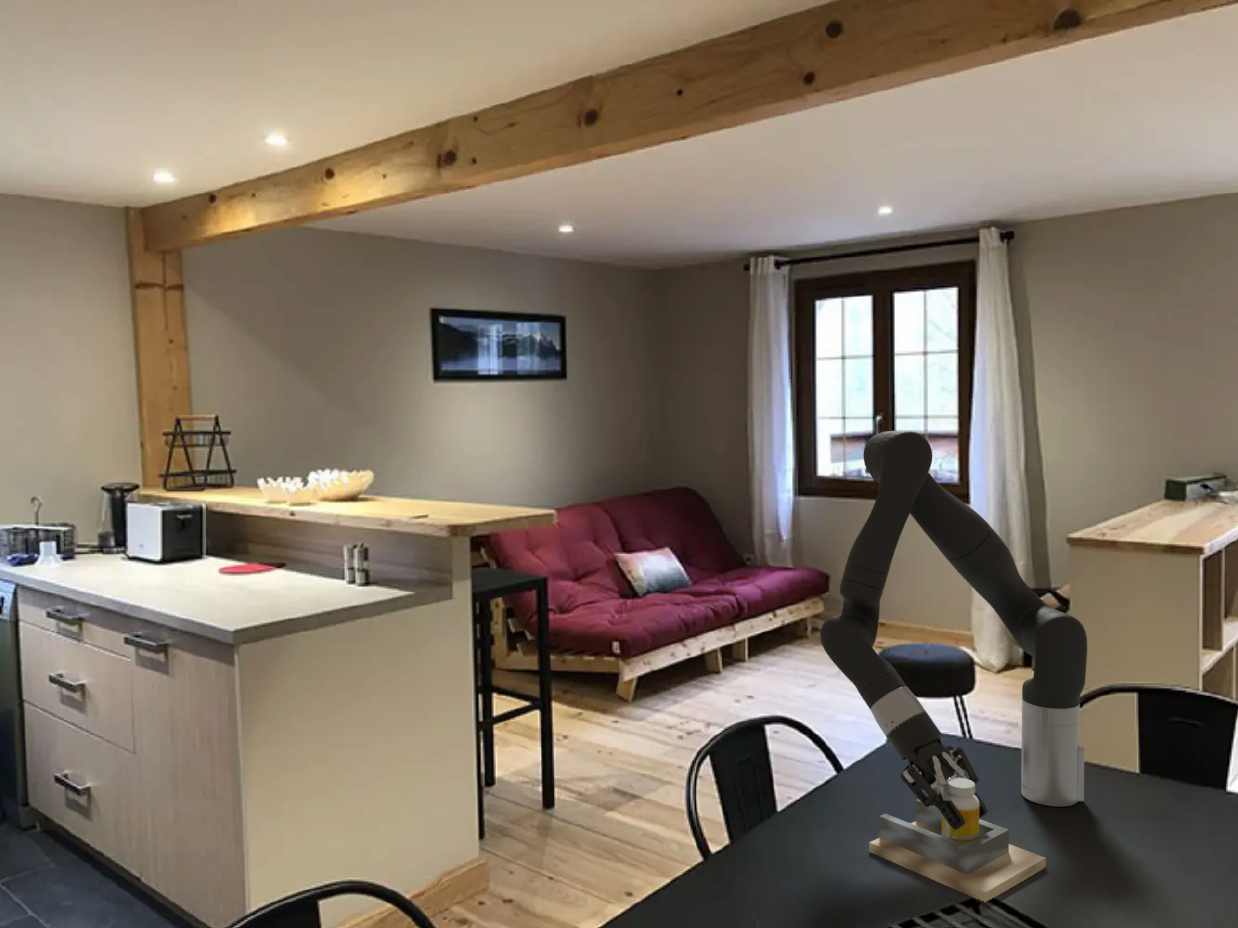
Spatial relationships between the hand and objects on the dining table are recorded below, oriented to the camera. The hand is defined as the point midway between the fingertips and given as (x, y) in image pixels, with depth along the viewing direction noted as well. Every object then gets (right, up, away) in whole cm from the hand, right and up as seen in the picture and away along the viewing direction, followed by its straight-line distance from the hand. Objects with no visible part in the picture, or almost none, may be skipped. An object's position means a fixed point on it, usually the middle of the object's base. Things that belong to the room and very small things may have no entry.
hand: (971, 820), depth 147 cm
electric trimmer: (+6, -5, +38) cm, 39 cm away
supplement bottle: (-1, -4, +2) cm, 5 cm away
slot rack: (-2, -7, +3) cm, 7 cm away
